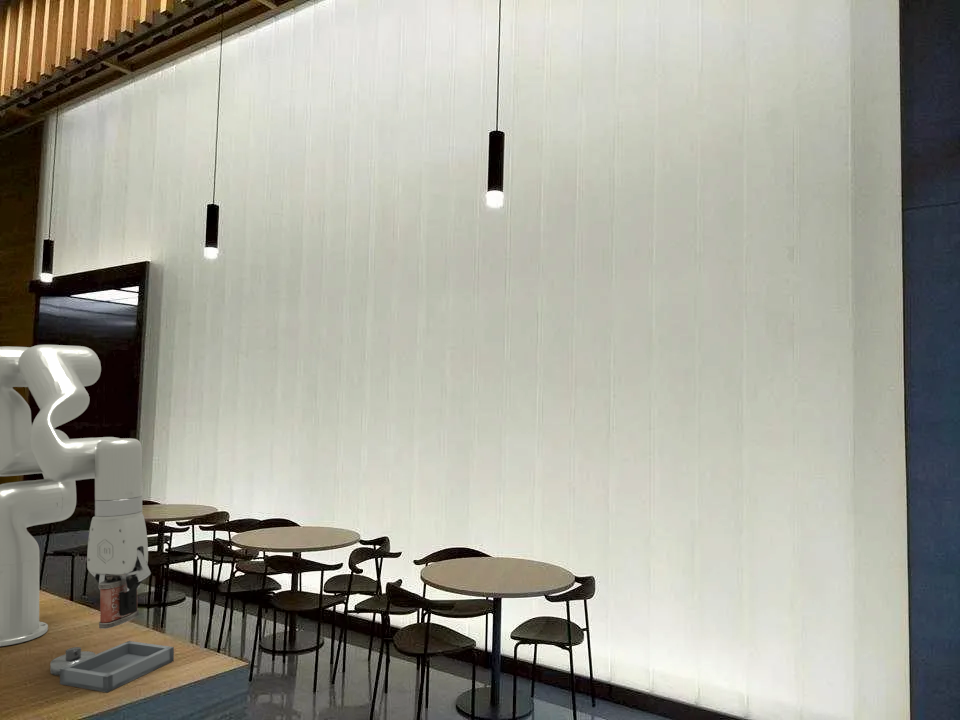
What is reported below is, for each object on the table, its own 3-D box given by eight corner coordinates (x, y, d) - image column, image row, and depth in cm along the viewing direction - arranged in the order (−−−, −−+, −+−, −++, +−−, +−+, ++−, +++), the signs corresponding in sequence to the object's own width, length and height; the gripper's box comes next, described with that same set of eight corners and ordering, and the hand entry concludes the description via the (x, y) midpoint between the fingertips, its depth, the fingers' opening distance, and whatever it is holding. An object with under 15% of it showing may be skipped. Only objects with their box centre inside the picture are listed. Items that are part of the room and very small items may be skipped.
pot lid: (41, 672, 122) (41, 654, 122) (77, 658, 128) (77, 640, 128) (69, 677, 119) (69, 658, 119) (104, 662, 126) (104, 644, 126)
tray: (59, 684, 116) (59, 669, 116) (129, 654, 129) (129, 640, 129) (107, 692, 112) (107, 676, 112) (173, 660, 125) (173, 647, 126)
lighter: (110, 629, 117) (110, 569, 118) (93, 628, 118) (93, 569, 118) (143, 614, 125) (142, 558, 125) (127, 613, 126) (126, 558, 126)
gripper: (66, 510, 122) (66, 615, 121) (136, 512, 116) (136, 623, 115) (103, 503, 129) (103, 602, 128) (170, 505, 123) (171, 609, 122)
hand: (119, 611), depth 121 cm, fingers closed on lighter, 3 cm apart
